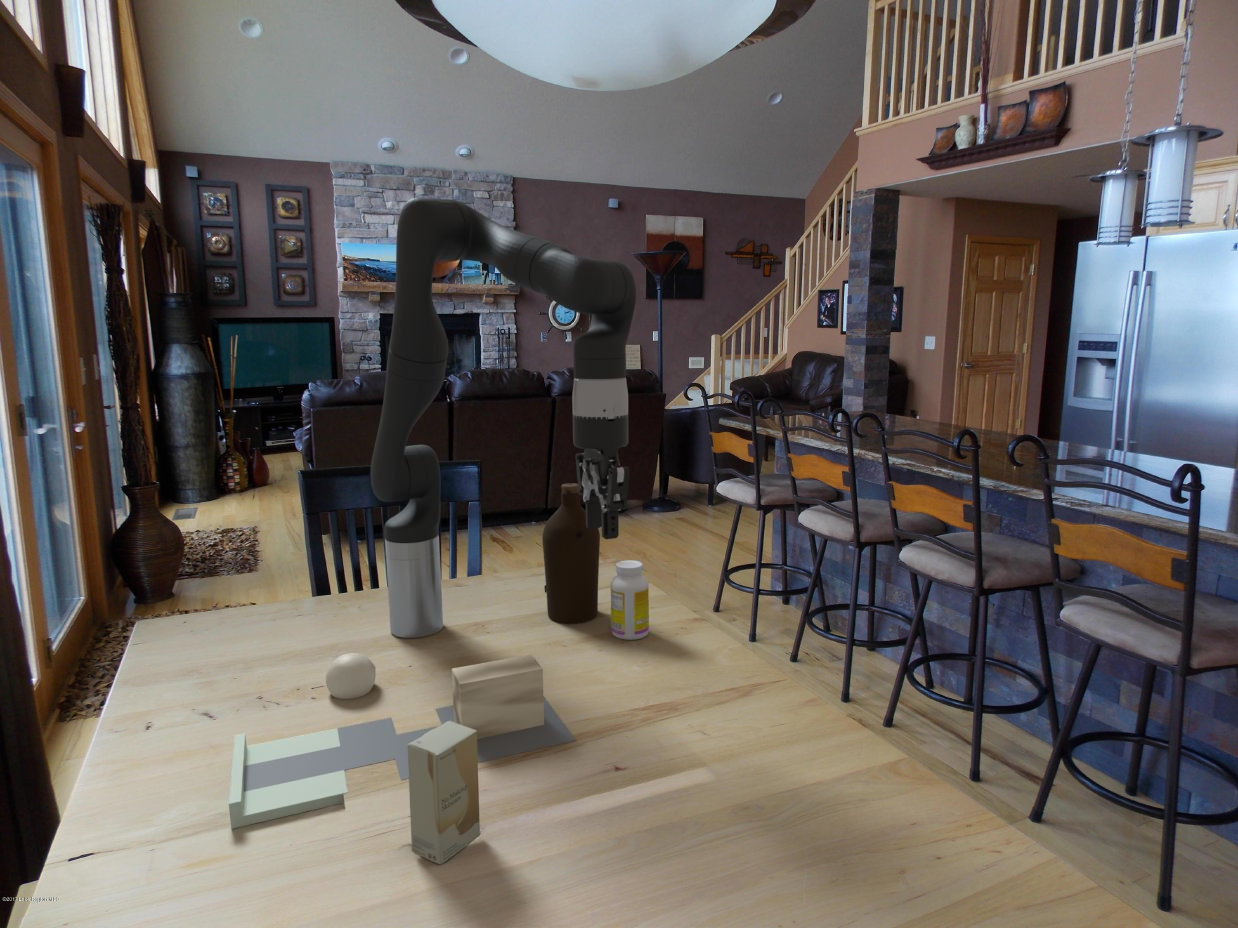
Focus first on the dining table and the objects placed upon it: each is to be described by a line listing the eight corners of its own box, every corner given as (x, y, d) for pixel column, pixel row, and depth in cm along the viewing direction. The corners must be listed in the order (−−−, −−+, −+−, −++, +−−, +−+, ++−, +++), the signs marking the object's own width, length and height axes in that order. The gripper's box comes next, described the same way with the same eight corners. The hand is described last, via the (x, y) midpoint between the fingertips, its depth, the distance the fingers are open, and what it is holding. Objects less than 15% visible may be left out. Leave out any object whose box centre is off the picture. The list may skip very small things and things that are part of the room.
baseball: (387, 689, 119) (385, 647, 118) (358, 711, 113) (354, 667, 111) (349, 683, 121) (346, 642, 120) (318, 705, 115) (314, 661, 113)
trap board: (236, 756, 101) (234, 734, 101) (538, 696, 117) (537, 676, 116) (231, 828, 87) (228, 803, 86) (576, 748, 102) (575, 727, 102)
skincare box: (440, 867, 80) (434, 756, 78) (410, 852, 83) (403, 744, 80) (483, 832, 86) (478, 728, 83) (453, 820, 88) (448, 717, 86)
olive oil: (612, 612, 150) (611, 483, 146) (574, 629, 142) (572, 493, 137) (570, 600, 156) (568, 476, 152) (532, 616, 148) (528, 485, 144)
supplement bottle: (650, 627, 143) (650, 558, 140) (647, 641, 136) (647, 570, 134) (613, 626, 143) (612, 557, 141) (609, 640, 137) (608, 569, 135)
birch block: (454, 724, 106) (451, 668, 105) (533, 708, 111) (531, 654, 109) (462, 742, 102) (459, 684, 100) (544, 724, 106) (542, 668, 105)
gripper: (556, 407, 112) (559, 524, 115) (594, 418, 99) (596, 549, 102) (605, 405, 115) (607, 518, 118) (648, 415, 102) (648, 542, 105)
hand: (602, 532), depth 110 cm, fingers open, 5 cm apart
